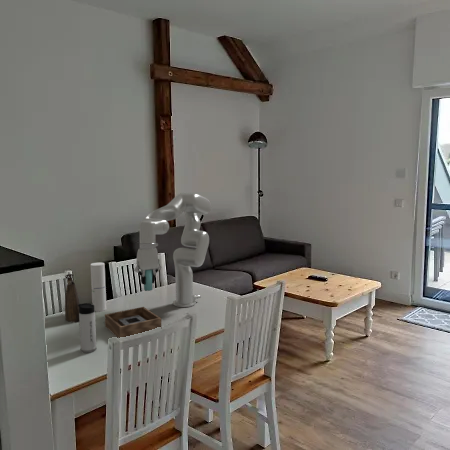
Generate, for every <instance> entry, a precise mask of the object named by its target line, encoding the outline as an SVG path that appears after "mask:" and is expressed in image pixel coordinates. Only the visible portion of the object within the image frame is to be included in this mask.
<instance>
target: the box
mask: <svg viewBox="0 0 450 450" xmlns="http://www.w3.org/2000/svg"><path fill="white" fill-rule="evenodd" d="M137 315H139V316H141V317H142V318H143V319H145V320H146V321H143V322H138V323H134V324H129V325H125V326H121V325H120V324H118V319H123V318H127V317H132V316H137ZM104 325H105V328H107V330H108V331H110V332H111V333H112V334H113V335H114V336H115V337H117V338H118V337H119V338H120V337H126V336H130V335H134V334H138V333H142V332H145V331H149V330H152V329H155V328H157V327H161V328H162V317H160V316H159V315H157V314H156V313H154V312H152V311H151V310H149V309H148V308H146V307H145V306H141V307H136V308H135V307H134V308H131V309H125V310H121V311H116V312H111V313H106V314H104ZM119 338H118V339H119Z"/></svg>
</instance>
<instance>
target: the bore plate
mask: <svg viewBox="0 0 450 450" xmlns="http://www.w3.org/2000/svg"><path fill="white" fill-rule="evenodd" d="M143 321H146V320H145V319H143V318H142V317H141V316H139V315H137V316H132V317H127V318H123V319H118V324H120V325H121V326H125V325H129V324H134V323H138V322H143Z"/></svg>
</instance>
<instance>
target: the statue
mask: <svg viewBox="0 0 450 450" xmlns="http://www.w3.org/2000/svg"><path fill="white" fill-rule="evenodd" d="M64 278H65V279H66V283H67V284H66V289H65V297H64V315H65V316H64V317H65V320H66V321H67V322H69V323H70V322H71V323H80V321H79V307H78V305H79V304H80V299H79V294H78V291H77V290H78V289H77V287H76V284H75V281H74V280H73V279H74V274H71V273H70V271H68V272H67V274H65V275H64Z"/></svg>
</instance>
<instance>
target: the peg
mask: <svg viewBox="0 0 450 450" xmlns="http://www.w3.org/2000/svg"><path fill="white" fill-rule="evenodd" d="M145 277H146V284H145V285H144V284H143V291H146V292H149V291H153V283H152V269H151V270H145Z"/></svg>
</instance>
